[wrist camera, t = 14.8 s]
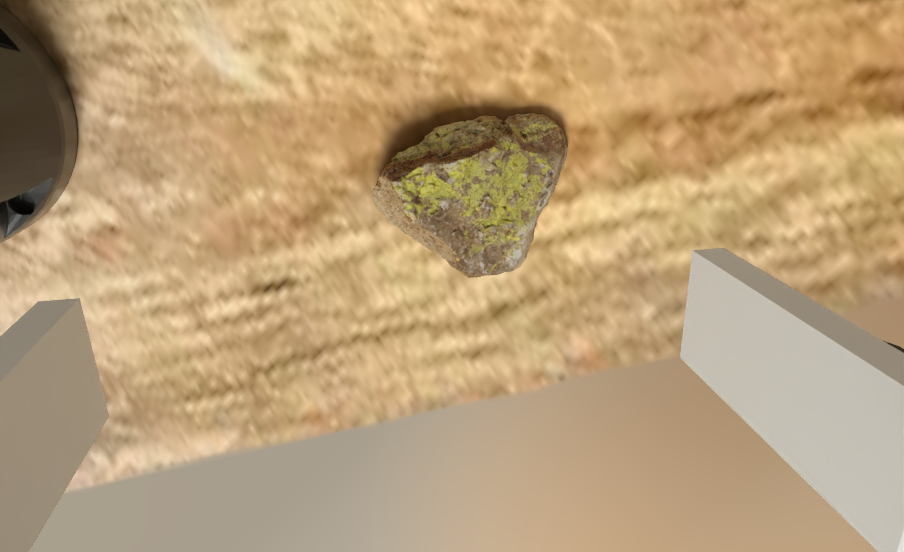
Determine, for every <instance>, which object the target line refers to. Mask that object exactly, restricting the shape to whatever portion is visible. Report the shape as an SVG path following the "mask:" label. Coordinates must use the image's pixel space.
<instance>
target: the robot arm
mask: <svg viewBox="0 0 904 552" xmlns="http://www.w3.org/2000/svg"><path fill="white" fill-rule="evenodd" d="M76 152H77V124H76V117H75V112H74V108H73V104H72V100H71V97H70V94H69V92H68V89H67V87H66V84H65V82H64V80H63V78H62V76H61V74H60V72H59V70H58V68H57V66H56V65H55V63H54V61H53V60H52V58H51V57H50V55H49V54H48V53H47V51H46V50H45V48H44V47H43V46H42V45H41V43H40V42H39V41H38V40H37V39H36V37H35V36H34V35H33V34H32V33H31V32H30V31H29V30H28V29H27V28H26V27H25V26H24V25H23V24H22V23H21V22H20V21H19V20H18V19H17V18H15V17H14V16H13V15H12V14H11V13H9V12H8V11H7V10H6V9H4V8H3V7H2V6H0V243H1V242H3V241H5V240H7V239H9V238H11V237H13V236H14V235H16V234H17V233H19V232H21V231H22V230H24V229H25V228H27V227H29V226H30V225H32V224H33V223H35V222H36V221H37V220H39V219H40V218H41V217H42V216H43V215H45V214H46V213H47V212H48V211H49V210H50V209H51V208H52V207H53V205H54V204H55V203H56V202H57V200H58V199H59V198H60V196H61V195H62V193H63V191H64V190H65V188H66V186H67V184H68V182H69V179H70V177H71V174H72V171H73V168H74V164H75V159H76ZM680 358H681V359H682V360H683V361H684V362H685V363H686V364H687V365H688V366H689V367H690V368H691V369H692V370H693V371H694V372H695V373H697V375H699V377H701V378H702V379H703V380H704V381H705V382H706V383H707V384H708V385H709V386H710V387H711V388H712V389H713V390H714V391H715V392H716V393H717V394H718V395H719V396H720V397H721V398H722V399H723V400H724V401H725V402H726V403H727V404H728V405H729V406H730V407H731V408H732V409H733V410H734V411H735V412H736V413H737V414H738V415H739V416H740V417H741V418H742V419H743V420H744V421H745V422H747V423H748V424H749V426H750V427H752V428H753V429H754V430H755V431H756V432H757V433H758V434H759V435H760V436H761V437H762V438H763V439H764V440H765V441H766V442H767V443H768V444H769V445H770V446H771V447H772V448H773V449H774V450H775V451H776V452H777V453H778V454H779V455H780V456H781V457H782V458H783V459H784V460H785V461H786V462H787V463H788V464H789V465H790V466H791V467H792V468H793V469H794V470H795V471H796V472H797V473H798V474H800V475H801V476H802V478H803V479H805V480H806V481H807V482H808V483H809V484H810V485H811V486H812V487H813V488H814V489H815V490H816V491H817V492H818V493H819V494H820V495H821V496H822V497H823V498H824V499H825V500H826V501H827V502H828V503H829V504H830V505H831V506H832V507H833V508H834V509H835V510H836V511H837V512H838V513H839V514H840V515H841V516H842V517H843V518H844V519H845V520H846V521H847V522H848V523H849V524H850V525H852V527H854V529H856V530H857V531H858V532H859V533H860V534H861V535H862V536H863V537H864V538H865V539H866V540H867V541H868V542H869V543H870V544H871V545H872V546H873V547H874V548H875V549H876V550H877V551H878V552H904V349H903V348H901V347H899V346H896V345H894V344H891V343H888V342H885V341H883V340H881V339H879V338H877V337H875V336H874V335H872V334H870V333H869V332H867V331H865V330H863V329H862V328H860V327H858V326H857V325H855V324H853V323H851V322H850V321H848V320H846V319H845V318H843V317H841V316H839V315H838V314H836V313H834V312H833V311H831V310H829V309H827V308H826V307H824V306H822V305H821V304H819V303H817V302H815V301H814V300H812V299H810V298H809V297H807V296H805V295H803V294H802V293H800V292H798V291H797V290H795V289H793V288H791V287H790V286H788V285H786V284H785V283H783V282H781V281H779V280H778V279H776V278H774V277H773V276H771V275H769V274H767V273H766V272H764V271H762V270H761V269H759V268H757V267H755V266H754V265H752V264H750V263H749V262H747V261H745V260H743V259H742V258H740V257H738V256H737V255H735V254H733V253H731V252H730V251H728V250H726V249H725V248H718V249H705V250H693V252H692V260H691V269H690V277H689V286H688V294H687V303H686V311H685V320H684V328H683V337H682V345H681V354H680ZM108 417H109V414H108V410H107V406H106V402H105V398H104V394H103V390H102V386H101V382H100V378H99V374H98V370H97V366H96V362H95V358H94V354H93V350H92V346H91V342H90V338H89V334H88V330H87V326H86V322H85V318H84V314H83V310H82V307H81V303H80V299H66V300H53V301H41V302H37V303H36V304H35V305H34V306H33V307H32V308H31V309H30V310H29V311H28V312H27V313H25V314H24V315H23V316H22V317H21V318H20V319H19V320H18V321H17V322H16V323H15V324H14V325H12V326H11V327H10V328H9V329H8V330H7V331H6V332H5V333H4V334H3V335H2V336H0V552H29V550H30V549H31V547H32V545H33V543H34V542H35V540H36V539H37V537H38V535H39V533H40V532H41V530H42V528H43V527H44V525H45V523H46V522H47V520H48V518H49V517H50V515H51V513H52V511H53V510H54V508H55V506H56V505H57V503H58V501H59V500H60V498H61V496H62V495H63V493H64V491H65V489H66V488H67V486H68V484H69V483H70V481H71V479H72V478H73V476H74V474H75V473H76V471H77V469H78V468H79V466H80V464H81V462H82V461H83V459H84V457H85V456H86V454H87V452H88V451H89V449H90V447H91V446H92V444H93V442H94V440H95V439H96V437H97V435H98V434H99V432H100V430H101V429H102V427H103V425H104V424H105V422H106V420H107V418H108Z"/></svg>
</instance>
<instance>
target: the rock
mask: <svg viewBox="0 0 904 552" xmlns="http://www.w3.org/2000/svg"><path fill="white" fill-rule="evenodd" d="M567 147H568V145H567V142H566V138H565V133H564V131H563V130H562V129H561V127H560V126H559V125H558V124H557V123H556V122H555V121H554V120H552V119H550V118H549V117H548V116H546V115H539V114H536V113H529V114H523V115H521V114H515V115H514V116H509V117H508V118H507V119H506V120H505V121H504V122H503V120H500V119H497V118H496V116H487V115H486V116H480V117H478V118H476V119H474V120H471V121H469V120H467V121H465V122H462V121H461V122H455V123H451V124H447V125H443V126H438V127H436V128H434V129H433V131H432V132H431V133H429V134H428V135H426V136H425V138H424V140H423V141H422V142H420V143H419V144H418V145H416V146H412V147H410V148H408V149H406V150H405V151H403V152H398V153H397V154H396V156H395V157H393V158H392V159H391V161H392V163H391V164H388V165H386V166H385V167H384V169H383V170H382V172H381V174H380V177H379V178H378V181H377V184H376V186H375V188H374V190H373V191H372V192H373V198H374V202H375V204H376V206H377V208H378V209H379V210H380V211H381V212H382V213H383V215H384V216H385V217H386V218H387V219H388V220H389V221H390V222H391V223H393V224H395V225H396V226H398V227H399V228H400V229H401V230H402V231H403V232H404V233H405V234H408V235H410V236H411V237H412V238H413V239H414V240H415V241H417V242H419V243H421V244H422V245H424V246H425V247H427V248H428V249H430V250H432V251H435V252H437V253H438V254H439V255H440V256H441V257H442V258H443V259H445V260H446V261H447V262H448V263H449V264H450V265H451V266H452V267H454V268H456V269H457V270H458V271H460V272H461V273H462V274H464V275H465V276H467V277H480V276H484V275H498V274H501V273H503V272H511V271H514V270H515V269H517V268H519V267H520V266H521V264H522V263H523V262H524V261H525V259H526V257H527V253H528V250H529V247H530V244H531V242H532V241H533V237H534V228H535V227H536V221H537V218H538V217H539V215H540V213H541V211H542V210H543V208H544V207H546V206H547V205H548V202H549V199H550V196H551V195H552V193H553V192H554V189H555V186H556V185H557V182H558V179H559V176H560V172H561V170H562V168H563V165H564V162H565V160H566V156H567Z"/></svg>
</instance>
